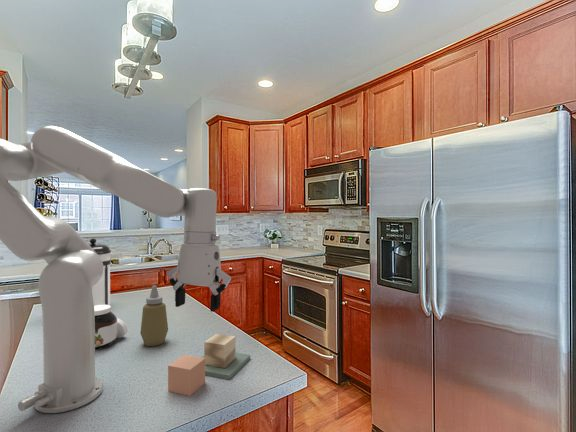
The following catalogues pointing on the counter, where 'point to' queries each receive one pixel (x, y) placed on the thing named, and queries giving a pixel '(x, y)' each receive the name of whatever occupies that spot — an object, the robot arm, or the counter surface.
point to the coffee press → (103, 285)
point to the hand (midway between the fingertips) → (197, 307)
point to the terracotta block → (186, 374)
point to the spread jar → (107, 326)
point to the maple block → (219, 350)
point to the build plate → (227, 367)
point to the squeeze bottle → (154, 320)
